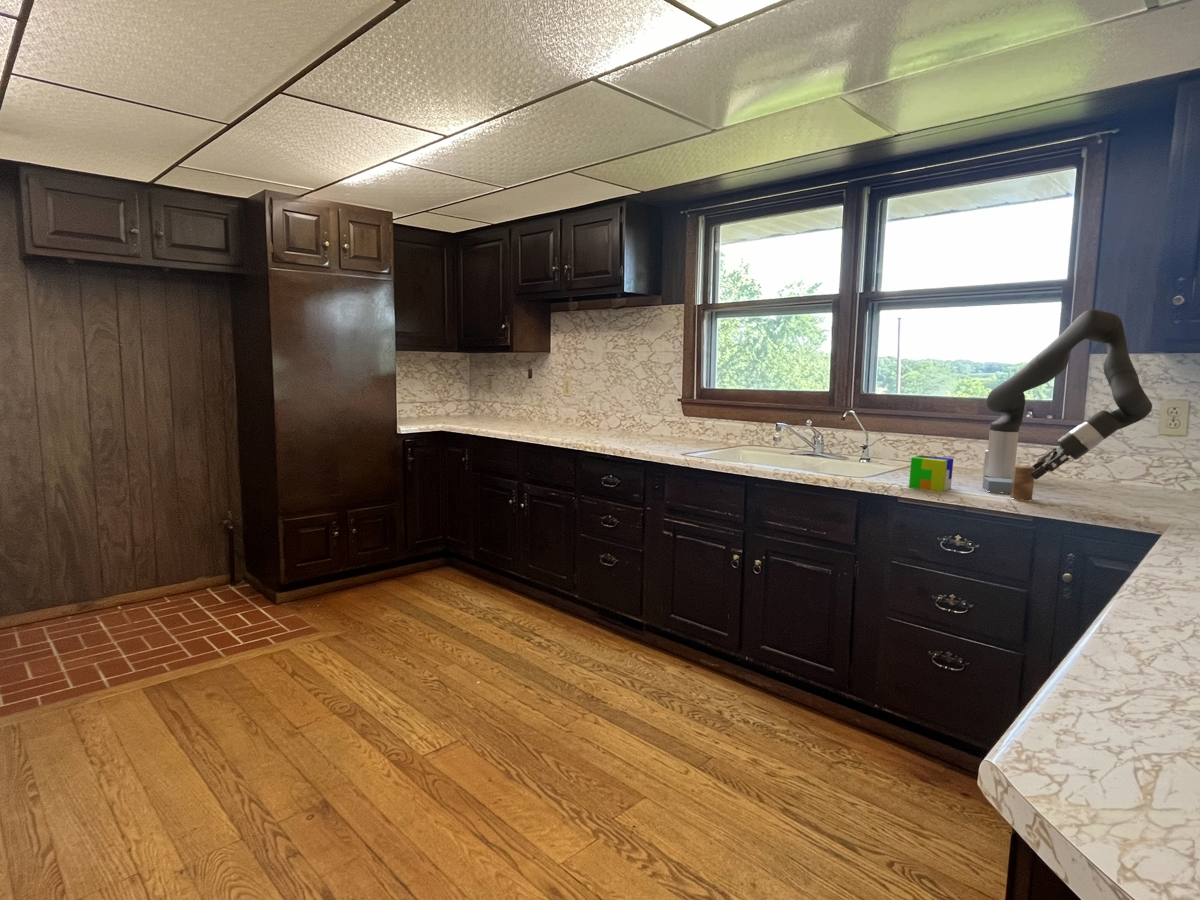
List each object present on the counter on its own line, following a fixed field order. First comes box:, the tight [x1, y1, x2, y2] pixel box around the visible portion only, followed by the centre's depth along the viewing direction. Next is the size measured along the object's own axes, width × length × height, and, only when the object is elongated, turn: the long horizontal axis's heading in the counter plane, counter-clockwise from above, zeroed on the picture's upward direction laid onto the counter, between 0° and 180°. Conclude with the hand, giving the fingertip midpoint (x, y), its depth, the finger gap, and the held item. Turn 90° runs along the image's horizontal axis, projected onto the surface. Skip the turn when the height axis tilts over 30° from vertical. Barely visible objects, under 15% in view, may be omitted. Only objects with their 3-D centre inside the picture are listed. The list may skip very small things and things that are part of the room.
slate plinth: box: [982, 476, 1012, 494], centre depth 220 cm, size 9×9×4 cm
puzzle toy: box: [908, 455, 954, 493], centre depth 223 cm, size 10×10×10 cm
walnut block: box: [1010, 464, 1035, 501], centre depth 207 cm, size 5×5×10 cm
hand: (1030, 475), depth 205 cm, fingers open, 8 cm apart
